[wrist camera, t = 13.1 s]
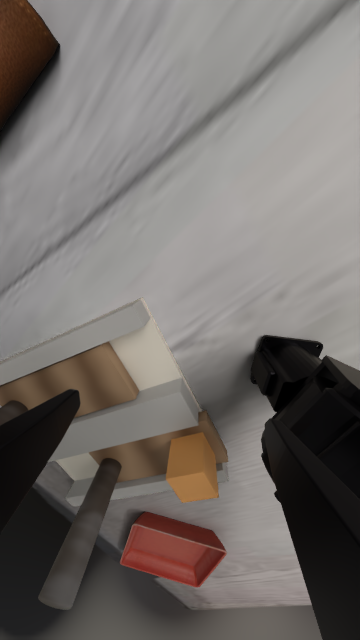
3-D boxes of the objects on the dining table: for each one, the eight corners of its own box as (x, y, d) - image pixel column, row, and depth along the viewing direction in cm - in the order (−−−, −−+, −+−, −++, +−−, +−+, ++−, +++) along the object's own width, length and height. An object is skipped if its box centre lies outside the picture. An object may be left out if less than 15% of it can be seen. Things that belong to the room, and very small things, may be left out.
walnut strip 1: (107, 339, 21) (-13, 451, 9) (139, 390, 23) (77, 534, 11) (-1, 384, 25) (-180, 500, 13) (34, 423, 28) (-91, 554, 16)
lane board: (142, 297, 20) (132, 305, 17) (225, 456, 28) (228, 481, 25) (-20, 370, 26) (-48, 386, 23) (84, 483, 34) (73, 506, 31)
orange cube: (202, 432, 23) (203, 472, 19) (215, 455, 24) (218, 497, 20) (171, 439, 24) (165, 479, 20) (184, 461, 25) (182, 502, 21)
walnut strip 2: (206, 410, 24) (214, 574, 11) (226, 450, 26) (252, 623, 14) (91, 440, 28) (10, 582, 16) (118, 472, 30) (64, 619, 18)
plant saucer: (124, 543, 42) (118, 566, 38) (137, 501, 35) (132, 525, 32) (198, 564, 42) (199, 589, 38) (225, 526, 35) (228, 552, 32)
